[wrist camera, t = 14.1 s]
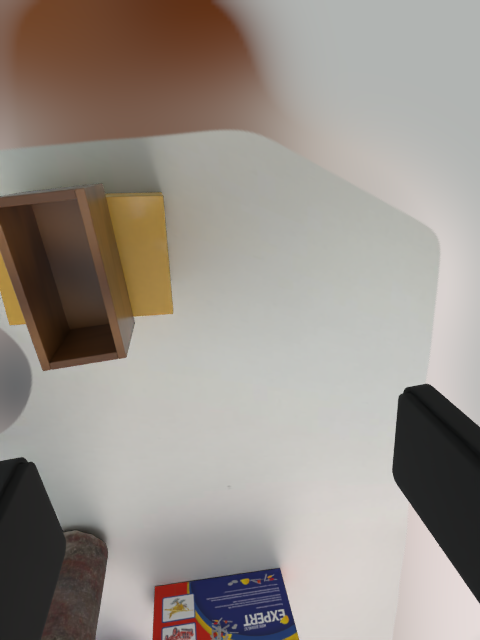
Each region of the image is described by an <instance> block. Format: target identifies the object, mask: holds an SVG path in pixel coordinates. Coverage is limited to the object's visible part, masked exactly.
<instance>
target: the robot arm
mask: <svg viewBox="0 0 480 640" xmlns="http://www.w3.org/2000/svg"><path fill="white" fill-rule="evenodd" d="M392 471H393V476H394V479H395V481H396V483H397V485H398V486H399V488H400V489H401V491H402V492H403V494H404V495H405V497H406V498H407V499H408V501H409V502H410V504H411V505H412V507H413V508H414V510H415V511H416V512H417V514H418V515H419V516H420V518H421V520H422V521H423V522H424V524H425V525H426V527H427V528H428V530H429V531H430V532H431V534H432V535H433V537H434V538H435V540H436V541H437V543H438V544H439V546H440V547H441V548H442V550H443V551H444V553H445V554H446V555H447V557H448V558H449V560H450V561H451V563H452V564H453V566H454V567H455V568H456V570H457V571H458V573H459V574H460V576H461V577H462V579H463V580H464V582H465V583H466V584H467V586H468V587H469V589H470V590H471V592H472V593H473V594H474V596H475V597H476V599H477V600H478V602H479V603H480V427H479V426H478V425H477V424H475V423H474V422H473V421H472V420H471V419H470V418H469V417H467V416H466V415H465V414H464V413H463V412H462V411H460V410H459V409H458V408H457V407H456V406H454V405H453V404H452V403H451V402H450V401H449V400H448V399H446V398H445V397H444V396H443V395H442V394H441V393H440V392H438V391H437V390H436V389H435V388H434V387H432V386H431V385H429V384H423V385H417V386H412V387H407V388H405V390H404V393H403V394H401V395H400V396H399V399H398V410H397V422H396V433H395V445H394V457H393V468H392ZM65 552H66V539H65V536H64V533H63V531H62V528H61V526H60V524H59V521H58V519H57V516H56V514H55V511H54V509H53V507H52V504H51V502H50V499H49V497H48V494H47V492H46V490H45V487H44V485H43V482H42V480H41V477H40V475H39V473H38V470H37V468H36V466H35V464H34V463H33V462H27V460H26V459H25V458H22V457H21V458H15V459H10V460H4V461H0V640H41V637H42V634H43V630H44V627H45V623H46V620H47V616H48V613H49V609H50V606H51V602H52V599H53V595H54V592H55V588H56V585H57V581H58V577H59V574H60V570H61V567H62V563H63V560H64V556H65Z"/></svg>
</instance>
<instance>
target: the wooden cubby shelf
mask: <svg viewBox="0 0 480 640" xmlns="http://www.w3.org/2000/svg"><path fill="white" fill-rule="evenodd" d="M0 252H1V255H2V258H3V261H4V263H5V266H6V269H7V272H8V275H9V277H10V280H11V283H12V286H13V289H14V291H15V294H16V297H17V300H18V303H19V305H20V308H21V311H22V314H23V317H24V319H25V322H26V325H27V328H28V331H29V333H30V336H31V339H32V342H33V345H34V347H35V350H36V353H37V356H38V359H39V361H40V364H41V367H42V370H43V371H47V370H51V369H52V370H53V369H59V368H65V367H71V366H77V365H83V364H89V363H96V362H102V361H108V360H114V359H118V358H119V359H121V358H126V357H127V353H128V349H129V345H130V341H131V336H132V332H133V328H134V324H135V321H134V317H133V313H132V308H131V304H130V300H129V295H128V291H127V287H126V282H125V278H124V274H123V269H122V265H121V261H120V256H119V252H118V248H117V243H116V239H115V234H114V230H113V226H112V221H111V217H110V213H109V208H108V204H107V200H106V195H105V191H104V187H103V184H102V183H101V184H91V185H82V186H73V187H64V188H55V189H46V190H37V191H28V192H20V193H15V194H9V195H3V196H0Z"/></svg>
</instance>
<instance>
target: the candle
mask: <svg viewBox="0 0 480 640" xmlns="http://www.w3.org/2000/svg"><path fill="white" fill-rule="evenodd" d="M63 533H64V536H65V539H66V552H65V556H64V560H63V563H62V567H61V570H60V574H59V577H58V581H57V585H56V588H55V592H54V595H53V599H52V602H51V606H50V609H49V613H48V616H47V620H46V623H45V627H44V630H43V634H42V637H41V640H95V635H96V629H97V623H98V617H99V611H100V605H101V598H102V592H103V585H104V579H105V572H106V565H107V558H108V549H107V546H106V543H104V542H103V541H101V540H100V539H99V538H97V537H95V536H94V535H92V534H88V533H83V532H80V531H78V530H75V531H71V532H69V531H68V532H63Z"/></svg>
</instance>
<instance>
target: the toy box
mask: <svg viewBox="0 0 480 640" xmlns="http://www.w3.org/2000/svg"><path fill="white" fill-rule="evenodd" d="M153 640H299V638H298V634H297V630H296V626H295V623H294V619H293V615H292V611H291V608H290V604H289V600H288V596H287V592H286V589H285V585H284V581H283V577H282V574H281V570H280V568H278V569H271V570H264V571H257V572H251V573H244V574H237V575H230V576H224V577H217V578H210V579H203V580H197V581H190V582H182V583H176V584H169V585H162V586H155V595H154V619H153Z"/></svg>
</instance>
